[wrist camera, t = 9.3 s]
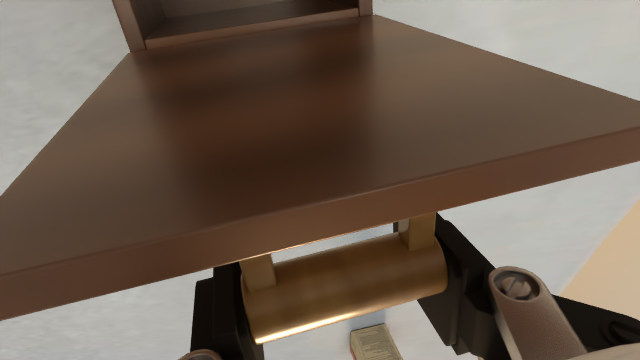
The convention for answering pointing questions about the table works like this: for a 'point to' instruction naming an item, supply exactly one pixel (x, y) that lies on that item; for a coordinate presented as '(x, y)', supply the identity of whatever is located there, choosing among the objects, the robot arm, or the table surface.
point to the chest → (223, 18)
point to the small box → (373, 344)
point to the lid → (293, 167)
